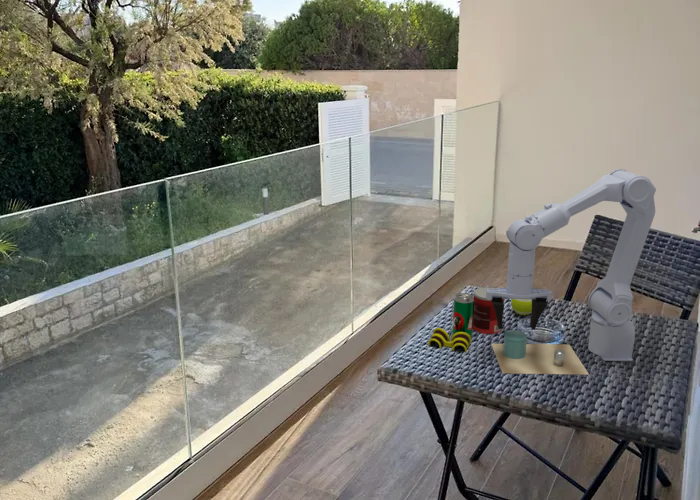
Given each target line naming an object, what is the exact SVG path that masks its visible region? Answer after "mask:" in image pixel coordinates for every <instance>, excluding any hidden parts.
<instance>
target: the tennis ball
mask: <svg viewBox="0 0 700 500" xmlns="http://www.w3.org/2000/svg"><path fill="white" fill-rule="evenodd" d="M510 300H511V301H510V302H511V307H512V310H513V311H514V312H515V313H516V314H518V315H520V316H528V315H531V313H532V299H510Z"/></svg>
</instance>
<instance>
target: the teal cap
mask: <svg viewBox="0 0 700 500" xmlns="http://www.w3.org/2000/svg"><path fill="white" fill-rule="evenodd" d="M503 337H504V338H503V344H504V346H503V354H504V355H505V356H506V357H508V358H512V359H521V358H524V357H525V355H526V344H528V342H527V341H528V339H527V338H528V337H527V334H526V333H525V332H523V331H521V330H511V329H510V330H507V331H505V332H504V336H503Z"/></svg>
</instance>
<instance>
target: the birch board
mask: <svg viewBox="0 0 700 500" xmlns="http://www.w3.org/2000/svg"><path fill="white" fill-rule="evenodd" d="M503 346H504V343H491V347H492V349H493V353H494V355H495V358H496V360H497V362H498V365H499V367H500V368H499V369H500V371H501V373H502V374H511V375H512V374H514V375H515V374H517V375H518V374H519V375H520V374H521V375H525V374H526V375H528V374H529V375H577V376H578V375H586V376H589V375H590V373H589V372H588V370H587V369H586V367H585V366H584V364H583V362H581V360H580V359H579V357H578V355H577V354H576V353H575V351H574V350H573V347H572V346H571V345H570V344H565V343H563V344H562V343H561V344H557V343H556V344H554V343H552V344H550V343H548V344H547V343H544V344H543V343H526V355H525V357H524V358H521V359H512V358H508V357H506V356H505V355H504V354H503ZM555 350H563V351H564V352H565V356H564V365H563V366H562V367H557V366H555V365H554V364H553V363H554V353H555Z"/></svg>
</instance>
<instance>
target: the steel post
mask: <svg viewBox="0 0 700 500" xmlns="http://www.w3.org/2000/svg"><path fill="white" fill-rule="evenodd" d="M564 356H565V352H564V351H563V350H555V353H554V363H553V364H554V365H555V366H557V367H562V366H563V365H564Z"/></svg>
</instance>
